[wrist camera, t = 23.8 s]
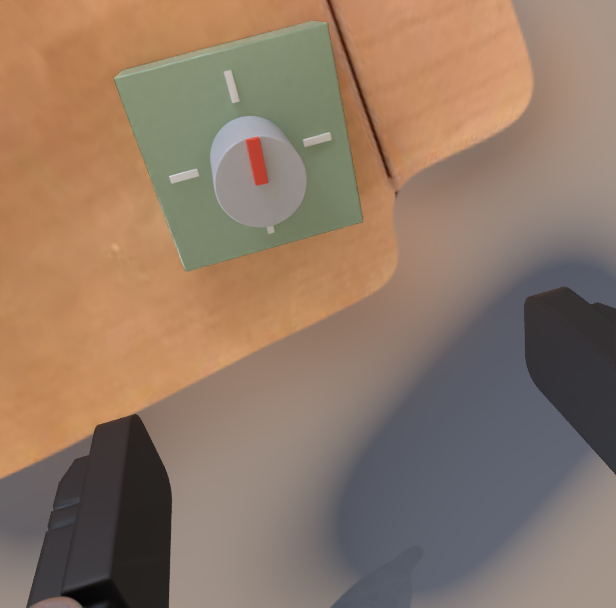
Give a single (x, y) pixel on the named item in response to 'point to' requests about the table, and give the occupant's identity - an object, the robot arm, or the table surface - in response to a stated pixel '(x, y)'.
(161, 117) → the green dial knob panel
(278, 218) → the lock knob
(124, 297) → the table surface
